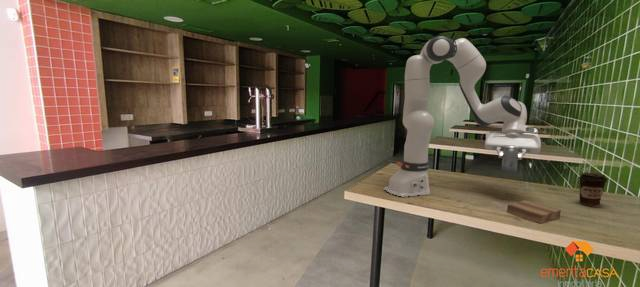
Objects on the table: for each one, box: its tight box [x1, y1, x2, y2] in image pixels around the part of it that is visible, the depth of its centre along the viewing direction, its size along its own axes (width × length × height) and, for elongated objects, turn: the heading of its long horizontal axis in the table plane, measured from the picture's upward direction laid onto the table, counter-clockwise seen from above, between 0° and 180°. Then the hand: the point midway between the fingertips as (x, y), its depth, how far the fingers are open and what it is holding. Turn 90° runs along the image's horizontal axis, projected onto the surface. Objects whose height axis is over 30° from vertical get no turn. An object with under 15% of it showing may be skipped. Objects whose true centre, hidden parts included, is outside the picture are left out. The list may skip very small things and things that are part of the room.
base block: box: [506, 199, 562, 224], centre depth 111 cm, size 12×12×3 cm
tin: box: [501, 145, 520, 173], centre depth 123 cm, size 6×6×10 cm
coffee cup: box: [578, 172, 608, 208], centre depth 119 cm, size 9×8×13 cm
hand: (510, 158), depth 122 cm, fingers closed on tin, 5 cm apart
